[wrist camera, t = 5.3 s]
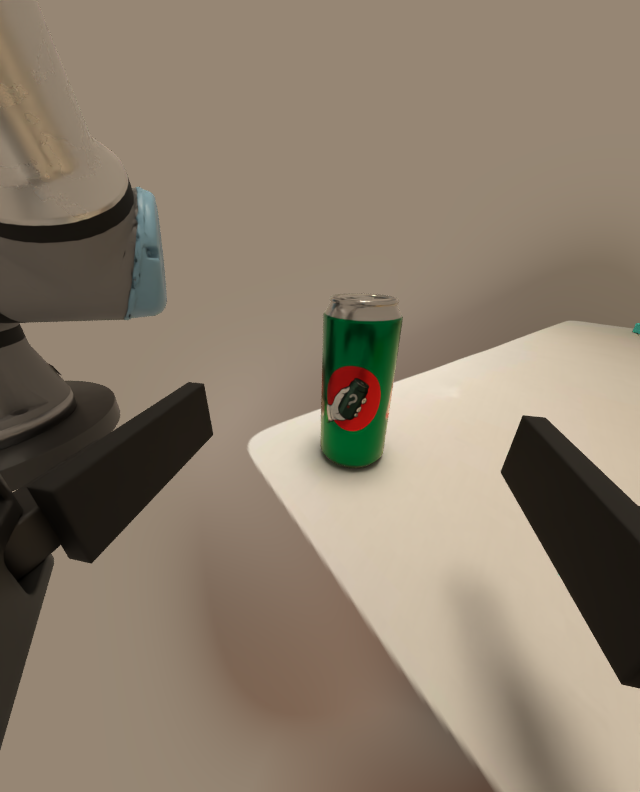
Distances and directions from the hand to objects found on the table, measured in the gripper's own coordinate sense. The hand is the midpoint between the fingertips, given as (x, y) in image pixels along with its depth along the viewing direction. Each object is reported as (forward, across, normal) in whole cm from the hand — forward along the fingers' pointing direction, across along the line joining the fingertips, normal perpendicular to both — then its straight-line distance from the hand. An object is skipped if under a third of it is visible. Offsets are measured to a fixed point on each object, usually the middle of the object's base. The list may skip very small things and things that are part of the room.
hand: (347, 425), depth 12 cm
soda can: (+8, 0, -8) cm, 12 cm away
